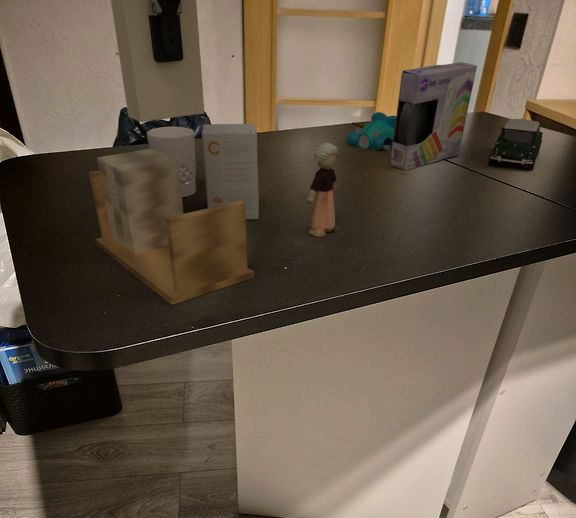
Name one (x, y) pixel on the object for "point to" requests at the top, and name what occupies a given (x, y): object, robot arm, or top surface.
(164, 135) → the white cup
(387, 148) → the toy car
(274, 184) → the top surface
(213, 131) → the small box
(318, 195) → the grandmother figurine
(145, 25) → the cream book
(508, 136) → the miniature car
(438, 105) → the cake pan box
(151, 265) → the book rack
